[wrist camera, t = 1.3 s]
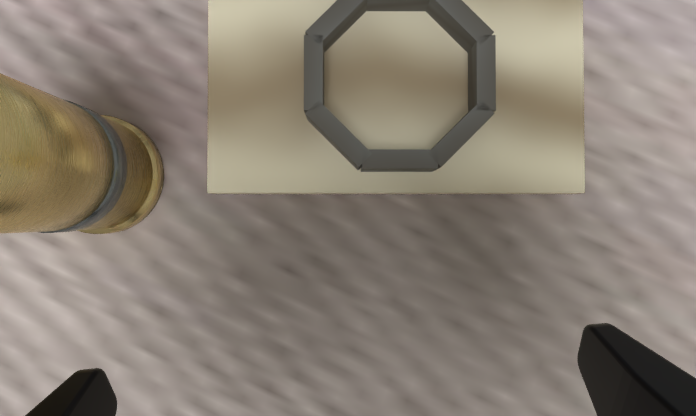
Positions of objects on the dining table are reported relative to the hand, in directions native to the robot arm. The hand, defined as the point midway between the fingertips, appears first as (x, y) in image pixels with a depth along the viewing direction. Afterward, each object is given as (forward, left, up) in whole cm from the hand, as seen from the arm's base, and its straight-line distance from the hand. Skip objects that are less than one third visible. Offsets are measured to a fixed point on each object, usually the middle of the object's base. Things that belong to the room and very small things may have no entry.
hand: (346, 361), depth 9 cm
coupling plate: (+13, +8, -14) cm, 20 cm away
